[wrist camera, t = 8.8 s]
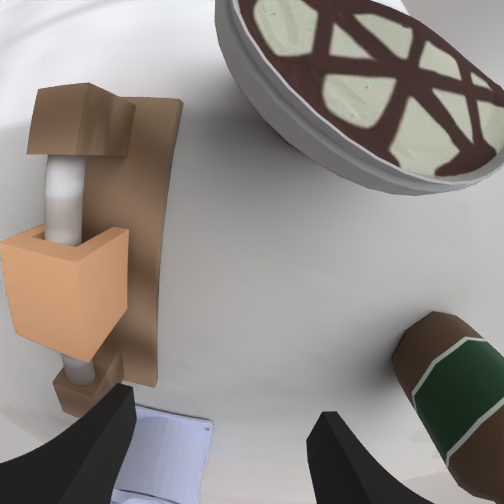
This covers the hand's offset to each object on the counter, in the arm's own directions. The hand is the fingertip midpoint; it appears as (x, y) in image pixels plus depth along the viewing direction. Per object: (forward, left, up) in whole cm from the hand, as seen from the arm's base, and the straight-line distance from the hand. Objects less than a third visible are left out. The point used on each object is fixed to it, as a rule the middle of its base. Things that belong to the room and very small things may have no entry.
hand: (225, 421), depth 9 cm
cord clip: (+2, +9, -7) cm, 12 cm away
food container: (+12, -3, -10) cm, 16 cm away
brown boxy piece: (+2, +9, -9) cm, 13 cm away
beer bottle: (-2, -17, -10) cm, 20 cm away
